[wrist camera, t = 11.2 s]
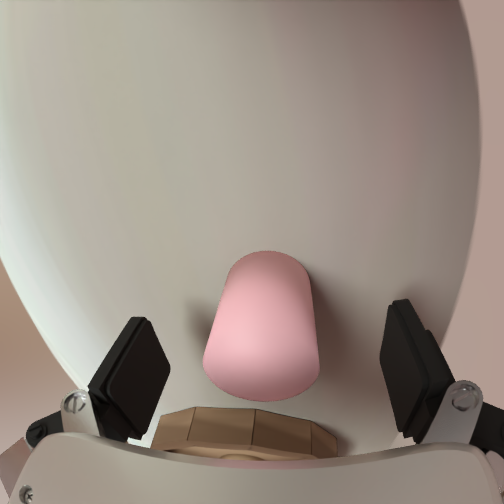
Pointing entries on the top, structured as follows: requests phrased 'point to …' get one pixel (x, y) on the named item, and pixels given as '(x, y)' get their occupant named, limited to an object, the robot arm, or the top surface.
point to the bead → (264, 330)
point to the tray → (242, 435)
